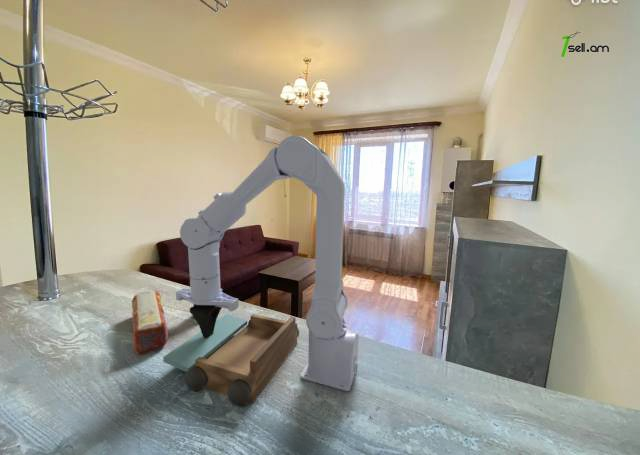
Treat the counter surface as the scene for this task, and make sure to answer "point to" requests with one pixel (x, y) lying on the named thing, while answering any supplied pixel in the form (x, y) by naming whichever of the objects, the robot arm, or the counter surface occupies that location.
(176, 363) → the tailgate
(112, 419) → the counter surface
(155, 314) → the snack package
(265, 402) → the counter surface
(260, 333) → the cart
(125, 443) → the counter surface
